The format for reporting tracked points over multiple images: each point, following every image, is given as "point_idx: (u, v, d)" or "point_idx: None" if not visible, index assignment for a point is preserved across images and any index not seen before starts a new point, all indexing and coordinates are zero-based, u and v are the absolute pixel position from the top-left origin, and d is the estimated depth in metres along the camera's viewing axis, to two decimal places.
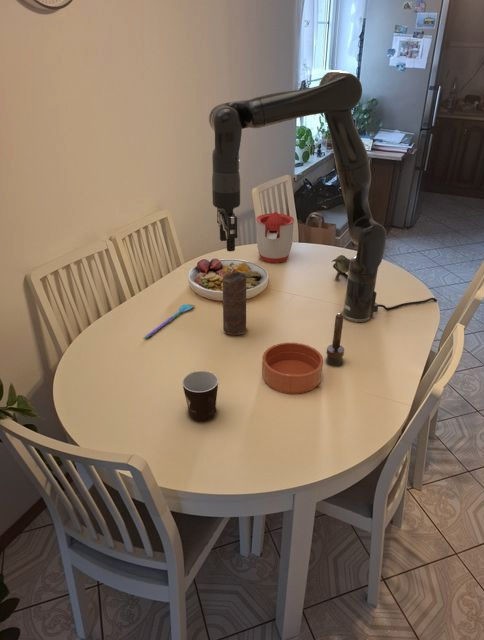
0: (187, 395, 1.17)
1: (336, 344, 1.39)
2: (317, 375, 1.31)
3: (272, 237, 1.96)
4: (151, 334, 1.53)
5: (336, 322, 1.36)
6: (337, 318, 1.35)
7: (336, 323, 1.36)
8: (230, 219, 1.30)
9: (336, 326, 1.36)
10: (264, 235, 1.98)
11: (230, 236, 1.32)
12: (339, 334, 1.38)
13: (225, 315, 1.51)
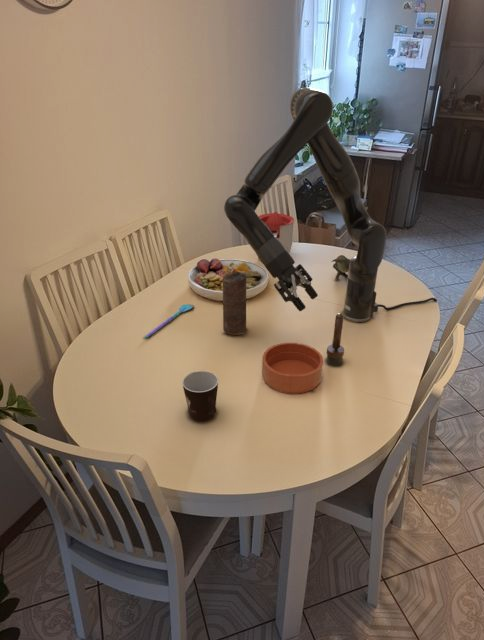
0: (187, 395, 1.17)
1: (336, 344, 1.39)
2: (317, 375, 1.31)
3: None
4: (151, 334, 1.53)
5: (336, 322, 1.36)
6: (337, 318, 1.35)
7: (336, 323, 1.36)
8: (276, 285, 1.33)
9: (336, 326, 1.36)
10: None
11: (285, 299, 1.33)
12: (339, 334, 1.38)
13: (225, 315, 1.51)
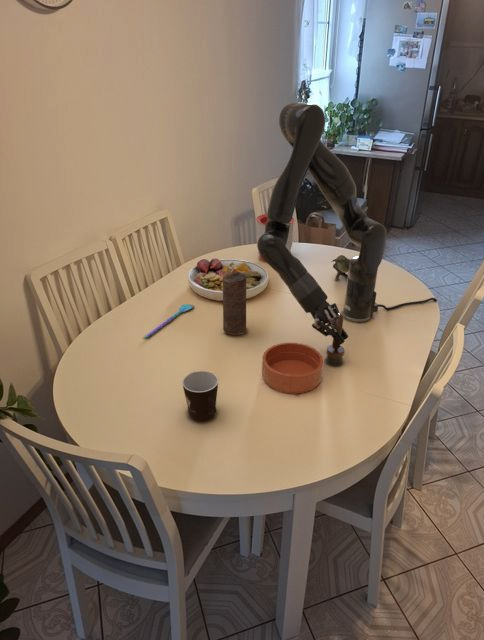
0: (187, 395, 1.17)
1: (336, 344, 1.39)
2: (317, 375, 1.31)
3: None
4: (151, 334, 1.53)
5: (336, 322, 1.36)
6: (337, 318, 1.35)
7: (336, 323, 1.36)
8: (315, 326, 1.33)
9: (336, 326, 1.36)
10: None
11: (326, 335, 1.36)
12: None
13: (225, 315, 1.51)
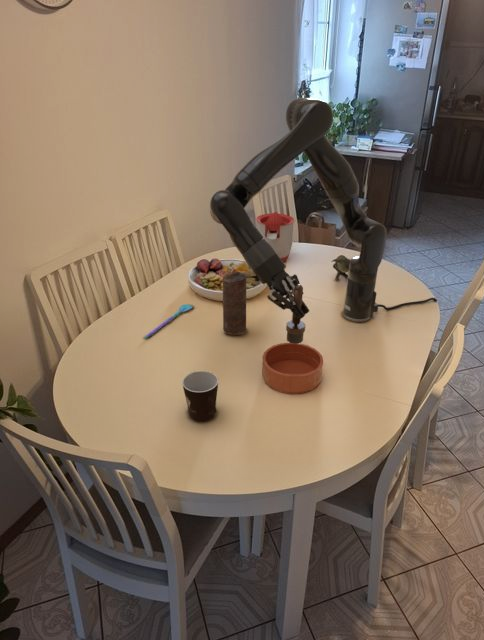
0: (187, 395, 1.17)
1: (295, 319, 1.27)
2: (317, 375, 1.31)
3: (272, 237, 1.96)
4: (151, 334, 1.53)
5: (295, 294, 1.23)
6: (296, 289, 1.22)
7: (295, 295, 1.23)
8: (270, 298, 1.21)
9: (295, 298, 1.24)
10: (264, 235, 1.98)
11: (283, 308, 1.23)
12: None
13: (225, 315, 1.51)
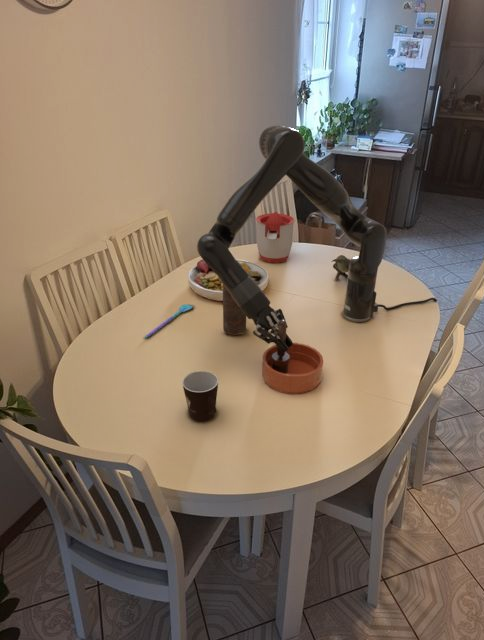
0: (187, 395, 1.17)
1: (280, 352, 1.34)
2: (317, 375, 1.31)
3: (272, 237, 1.96)
4: (151, 334, 1.53)
5: (279, 329, 1.30)
6: (280, 325, 1.29)
7: (279, 330, 1.30)
8: (255, 333, 1.28)
9: (279, 333, 1.31)
10: (264, 235, 1.98)
11: (268, 342, 1.30)
12: None
13: (225, 315, 1.51)
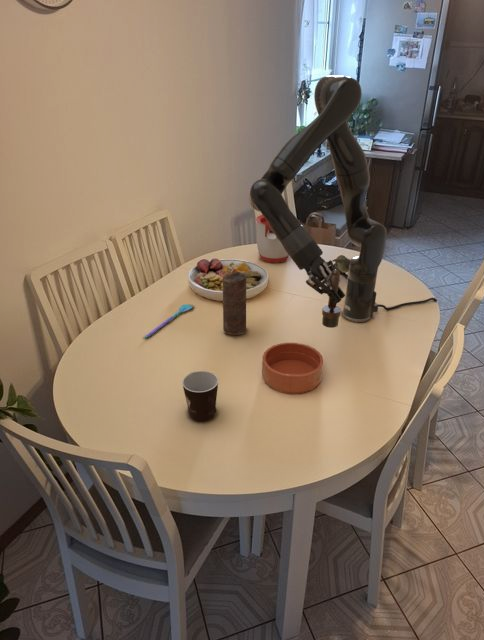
0: (187, 395, 1.17)
1: (332, 304, 1.31)
2: (317, 375, 1.31)
3: (272, 237, 1.96)
4: (151, 334, 1.53)
5: (332, 279, 1.27)
6: (333, 274, 1.26)
7: (332, 280, 1.27)
8: (309, 283, 1.25)
9: (332, 283, 1.28)
10: (264, 235, 1.98)
11: (321, 292, 1.27)
12: None
13: (225, 315, 1.51)
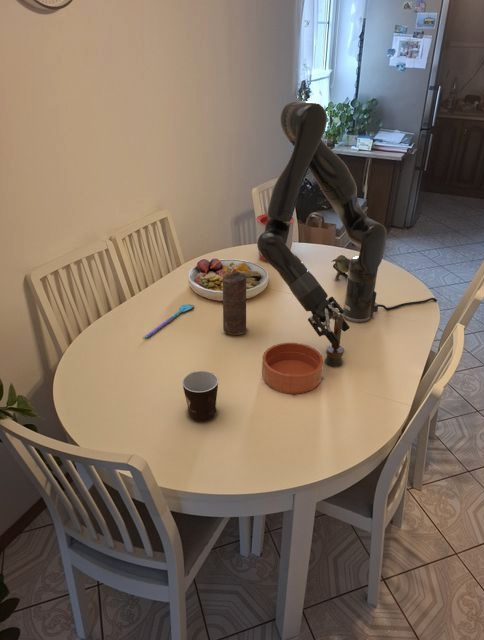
0: (187, 395, 1.17)
1: (335, 345, 1.39)
2: (317, 375, 1.31)
3: None
4: (151, 334, 1.53)
5: (336, 322, 1.36)
6: (337, 318, 1.35)
7: (336, 323, 1.36)
8: (310, 320, 1.33)
9: (336, 326, 1.36)
10: None
11: (319, 334, 1.33)
12: (339, 334, 1.38)
13: (225, 315, 1.51)
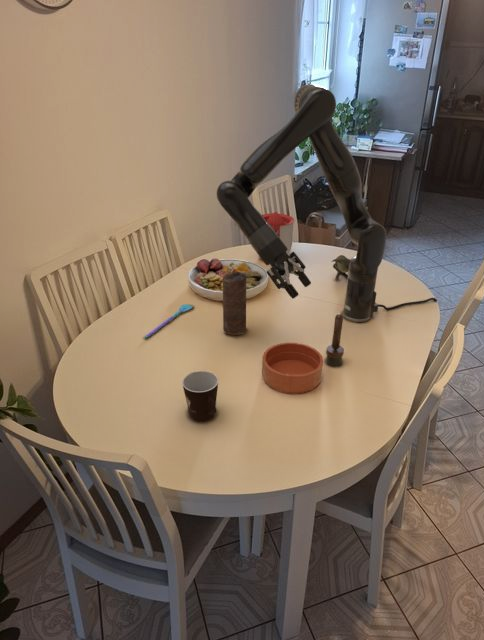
0: (187, 395, 1.17)
1: (335, 345, 1.39)
2: (317, 375, 1.31)
3: None
4: (151, 334, 1.53)
5: (336, 322, 1.36)
6: (337, 318, 1.35)
7: (336, 323, 1.36)
8: (268, 272, 1.32)
9: (336, 326, 1.36)
10: None
11: (278, 286, 1.32)
12: (339, 334, 1.38)
13: (225, 315, 1.51)
